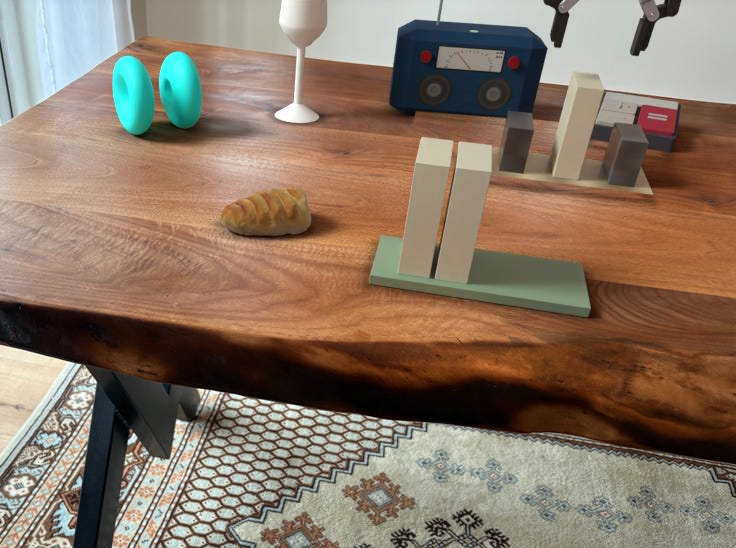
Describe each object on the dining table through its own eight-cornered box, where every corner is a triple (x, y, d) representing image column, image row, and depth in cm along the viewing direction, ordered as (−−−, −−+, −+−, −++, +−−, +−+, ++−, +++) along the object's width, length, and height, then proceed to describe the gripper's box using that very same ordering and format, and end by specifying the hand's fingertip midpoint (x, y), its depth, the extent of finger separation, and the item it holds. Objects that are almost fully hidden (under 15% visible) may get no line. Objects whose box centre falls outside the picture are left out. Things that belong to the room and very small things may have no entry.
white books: (579, 272, 77) (616, 155, 70) (588, 317, 70) (629, 193, 63) (379, 243, 80) (396, 130, 74) (368, 284, 73) (385, 162, 66)
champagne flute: (295, 105, 118) (306, -73, 104) (328, 116, 114) (345, -67, 101) (265, 114, 114) (272, -70, 100) (298, 126, 110) (311, -64, 96)
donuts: (205, 136, 105) (205, 60, 100) (136, 145, 101) (132, 67, 96) (178, 115, 113) (176, 43, 107) (112, 123, 109) (107, 48, 103)
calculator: (592, 119, 106) (604, 87, 117) (583, 148, 108) (596, 115, 119) (678, 133, 102) (683, 98, 113) (667, 163, 105) (673, 127, 115)
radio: (388, 116, 115) (408, -32, 104) (388, 99, 123) (407, -41, 111) (530, 127, 113) (567, -22, 102) (522, 110, 120) (555, -32, 109)
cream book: (573, 160, 100) (598, 73, 93) (578, 180, 94) (604, 89, 88) (549, 158, 100) (572, 71, 94) (552, 177, 95) (577, 86, 88)
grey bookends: (638, 172, 100) (655, 122, 96) (650, 202, 92) (669, 149, 88) (481, 153, 104) (491, 105, 100) (480, 180, 96) (491, 129, 92)
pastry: (232, 244, 79) (233, 210, 77) (211, 218, 84) (211, 185, 82) (315, 233, 82) (318, 199, 80) (290, 208, 87) (292, 176, 85)
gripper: (573, -116, 78) (533, 51, 87) (724, -106, 75) (666, 65, 85) (567, -120, 84) (530, 37, 93) (707, -111, 81) (654, 49, 91)
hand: (595, 50), depth 89 cm, fingers open, 8 cm apart
